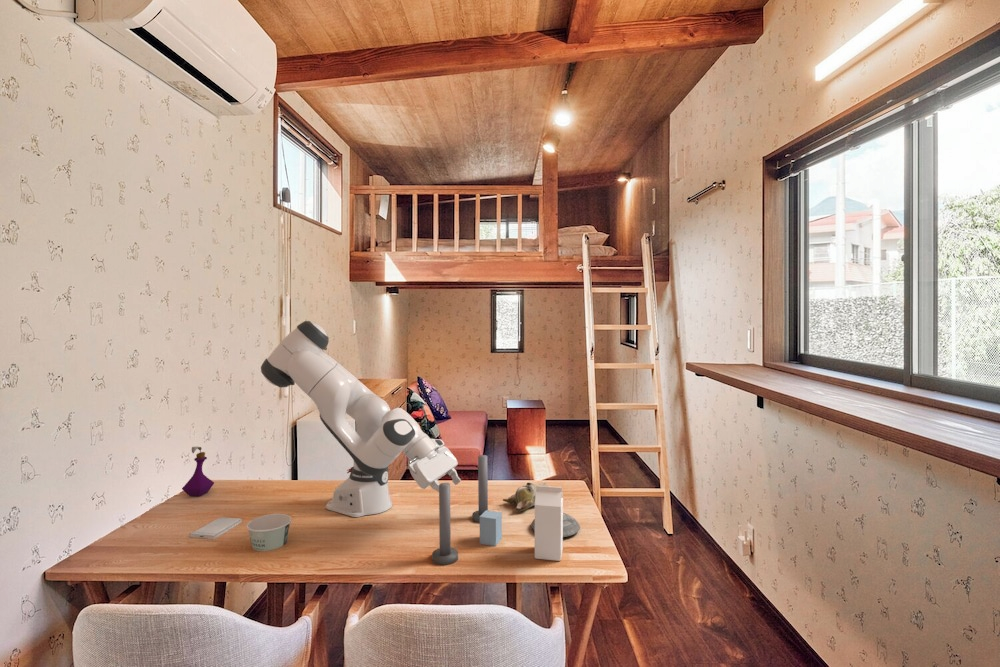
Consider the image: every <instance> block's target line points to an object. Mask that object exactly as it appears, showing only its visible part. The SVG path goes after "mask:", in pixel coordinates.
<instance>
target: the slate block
mask: <svg viewBox="0 0 1000 667" xmlns="http://www.w3.org/2000/svg"><path fill="white" fill-rule="evenodd" d="M502 519H503V512H502V511H494V510H486V511H485V512H484V513H483V514H482V515H481V516H480V523H479V544H480V545H485V546H486V545H487V546H492V547H497V546H498V544H499V543H500V542H501V541H502V539H503V538H502V537H503V534H502V533H503V532H502V530H503V528H502V525H503V520H502Z"/></svg>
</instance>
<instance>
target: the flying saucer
mask: <svg viewBox="0 0 1000 667" xmlns="http://www.w3.org/2000/svg"><path fill="white" fill-rule="evenodd" d="M530 527H531V528H532V530H533V531H534V532H535V518H533V520H532V521H531V524H530ZM580 530H581V526H580V524H579V522H578V520H576V518H574V517H573V516H572V515H569V514H567V513H564V512H563V538H565V537H566V538H567V537H571V536H573V535H576V534H577V533H578V532H579V531H580Z"/></svg>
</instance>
